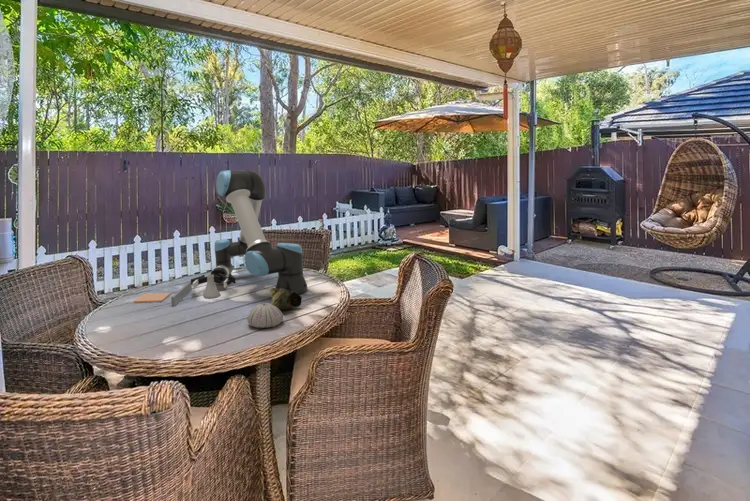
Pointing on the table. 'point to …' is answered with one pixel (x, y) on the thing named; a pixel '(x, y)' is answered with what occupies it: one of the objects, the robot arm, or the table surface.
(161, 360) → the table surface
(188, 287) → the low wall
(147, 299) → the terracotta tile
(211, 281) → the flask
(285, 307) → the seashell
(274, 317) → the sea urchin shell
